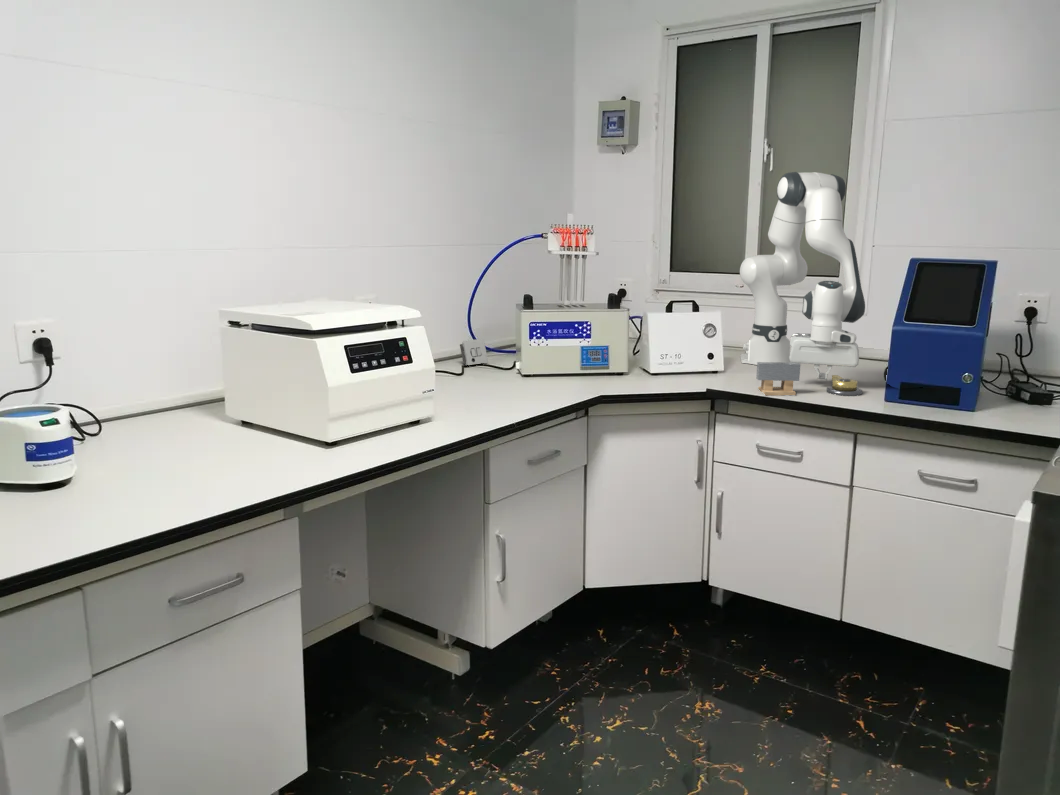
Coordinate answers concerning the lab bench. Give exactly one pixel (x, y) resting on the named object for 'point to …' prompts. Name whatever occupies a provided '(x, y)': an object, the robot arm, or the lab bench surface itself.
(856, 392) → the nut base
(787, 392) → the rack
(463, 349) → the electrical switch
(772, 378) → the bar
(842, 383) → the gold curved piece
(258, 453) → the lab bench surface
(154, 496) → the lab bench surface
